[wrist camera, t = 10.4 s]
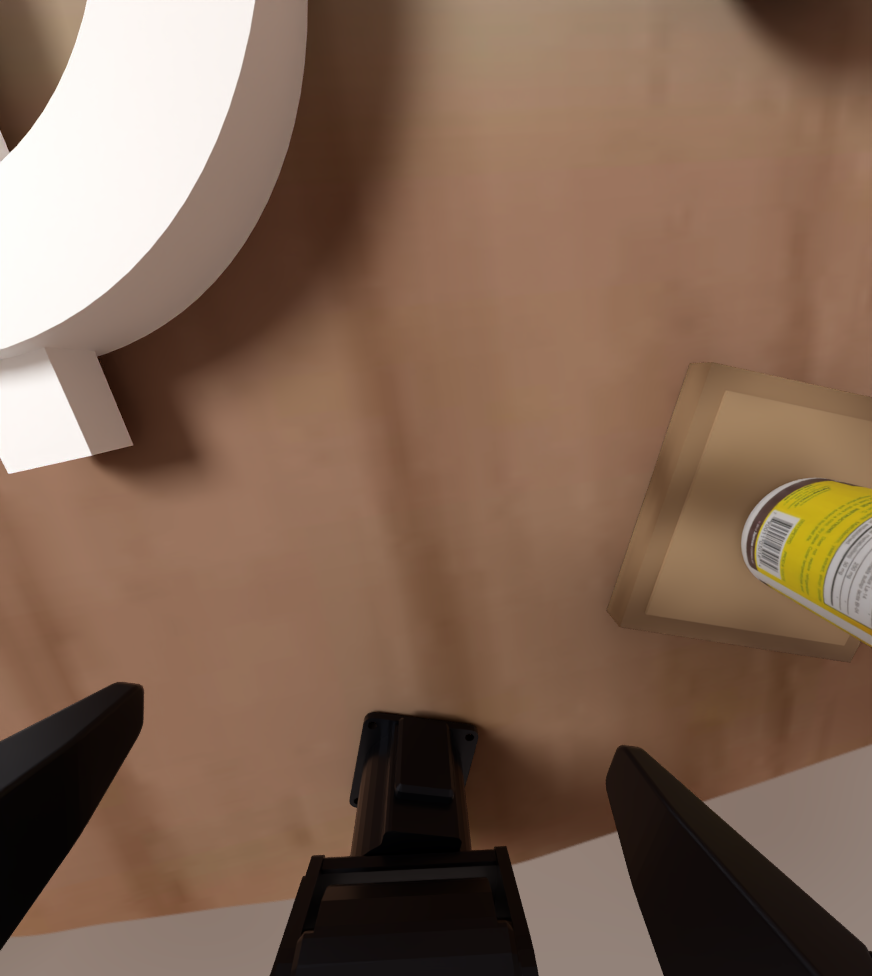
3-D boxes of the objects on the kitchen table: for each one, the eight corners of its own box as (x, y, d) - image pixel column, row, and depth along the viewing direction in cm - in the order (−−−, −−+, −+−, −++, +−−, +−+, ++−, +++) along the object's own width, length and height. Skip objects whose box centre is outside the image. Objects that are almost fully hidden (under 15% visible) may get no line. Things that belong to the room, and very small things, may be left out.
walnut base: (823, 645, 23) (852, 664, 22) (606, 610, 22) (621, 628, 21) (936, 417, 20) (981, 420, 19) (689, 363, 19) (714, 362, 17)
